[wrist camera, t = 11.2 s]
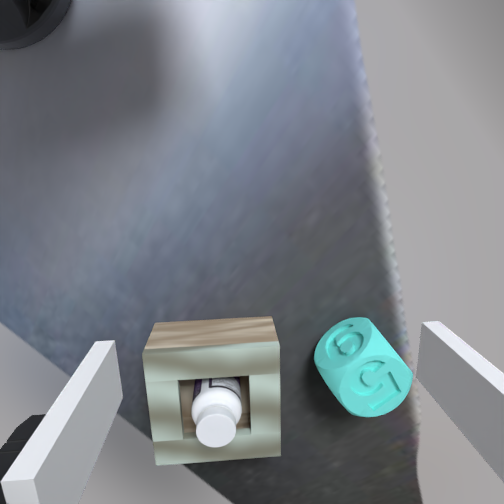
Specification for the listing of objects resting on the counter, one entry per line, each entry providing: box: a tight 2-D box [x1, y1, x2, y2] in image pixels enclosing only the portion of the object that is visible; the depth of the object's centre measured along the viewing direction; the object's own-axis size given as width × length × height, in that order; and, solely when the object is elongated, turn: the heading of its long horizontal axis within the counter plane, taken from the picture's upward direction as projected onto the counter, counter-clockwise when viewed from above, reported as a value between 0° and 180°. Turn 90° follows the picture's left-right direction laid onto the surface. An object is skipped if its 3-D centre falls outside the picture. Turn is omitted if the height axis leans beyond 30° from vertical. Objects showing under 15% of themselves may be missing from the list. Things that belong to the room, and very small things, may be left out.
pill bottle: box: [191, 376, 242, 447], centre depth 41 cm, size 5×5×10 cm
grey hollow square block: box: [142, 316, 281, 466], centre depth 43 cm, size 14×14×7 cm
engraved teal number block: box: [314, 317, 413, 417], centre depth 43 cm, size 8×8×8 cm
